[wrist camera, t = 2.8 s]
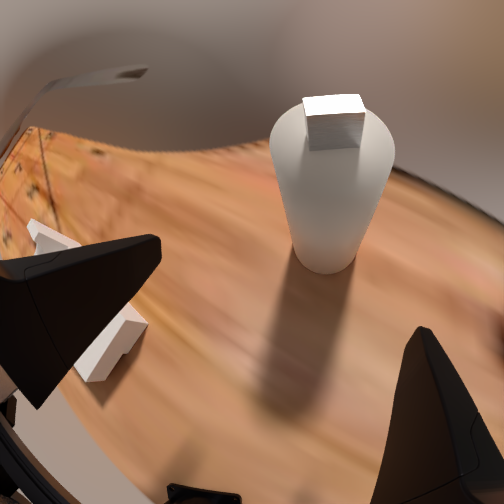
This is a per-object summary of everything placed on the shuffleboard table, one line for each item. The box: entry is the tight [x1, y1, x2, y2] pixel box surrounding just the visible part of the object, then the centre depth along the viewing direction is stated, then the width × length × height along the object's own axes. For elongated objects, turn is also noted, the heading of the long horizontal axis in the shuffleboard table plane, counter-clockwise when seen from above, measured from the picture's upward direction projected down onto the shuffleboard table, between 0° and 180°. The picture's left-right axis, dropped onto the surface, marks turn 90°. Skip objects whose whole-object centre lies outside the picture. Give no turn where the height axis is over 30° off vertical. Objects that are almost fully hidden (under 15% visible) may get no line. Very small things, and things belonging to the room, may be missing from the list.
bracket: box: [27, 218, 148, 382], centre depth 21 cm, size 13×7×8 cm, turn 52°
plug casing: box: [270, 95, 395, 274], centre depth 15 cm, size 5×5×14 cm
